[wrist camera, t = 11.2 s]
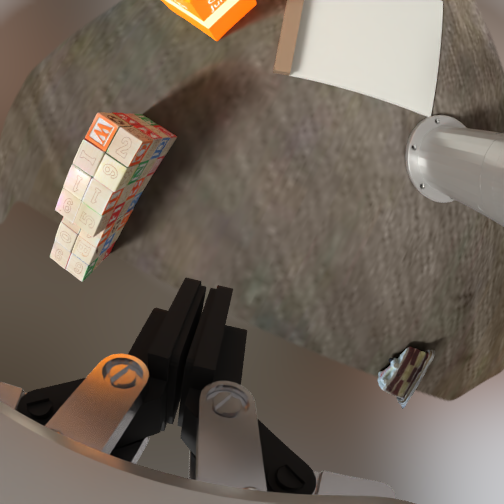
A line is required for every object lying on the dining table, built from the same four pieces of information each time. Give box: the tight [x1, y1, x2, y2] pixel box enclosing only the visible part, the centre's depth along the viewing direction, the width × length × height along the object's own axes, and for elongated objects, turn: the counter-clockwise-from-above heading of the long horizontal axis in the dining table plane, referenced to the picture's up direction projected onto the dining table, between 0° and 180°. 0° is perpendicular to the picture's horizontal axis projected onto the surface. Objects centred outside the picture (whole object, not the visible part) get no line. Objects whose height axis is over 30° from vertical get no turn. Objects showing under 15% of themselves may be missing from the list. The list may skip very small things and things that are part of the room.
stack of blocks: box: [50, 113, 177, 281], centre depth 36 cm, size 21×6×12 cm, turn 144°
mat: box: [273, 0, 443, 117], centre depth 30 cm, size 22×20×2 cm
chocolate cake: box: [378, 347, 435, 409], centre depth 50 cm, size 10×7×12 cm
